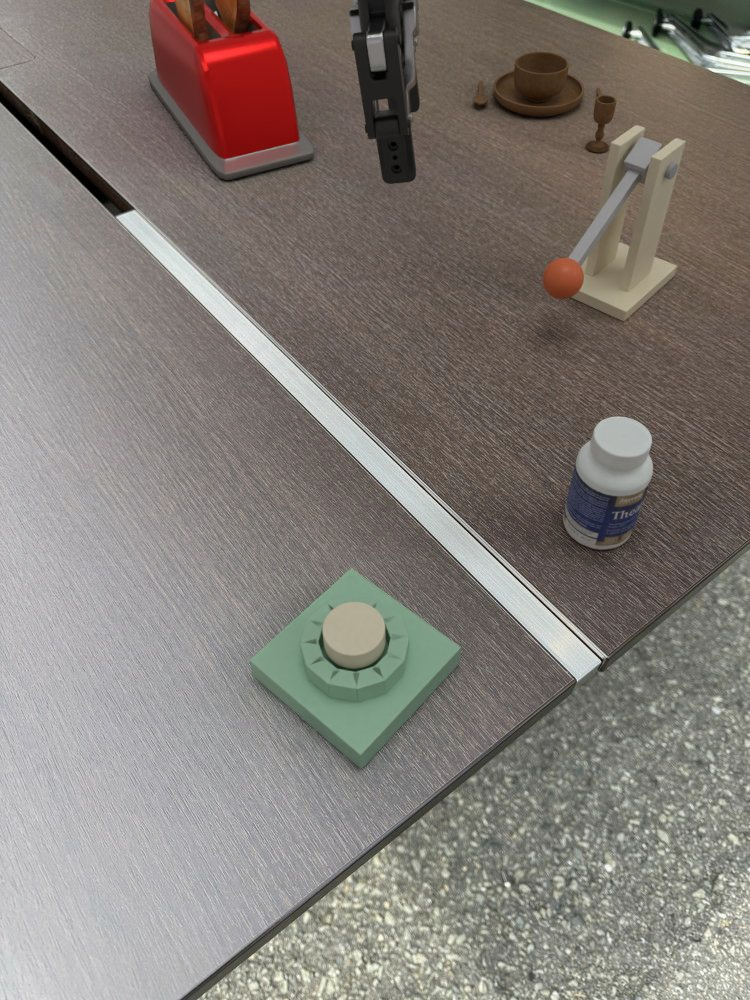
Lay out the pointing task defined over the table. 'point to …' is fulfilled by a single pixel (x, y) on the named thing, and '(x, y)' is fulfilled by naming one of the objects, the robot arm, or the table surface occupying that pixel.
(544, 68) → the place setting
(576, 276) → the lever
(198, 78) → the toaster
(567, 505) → the pill bottle
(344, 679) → the button block
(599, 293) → the bracket
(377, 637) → the button
